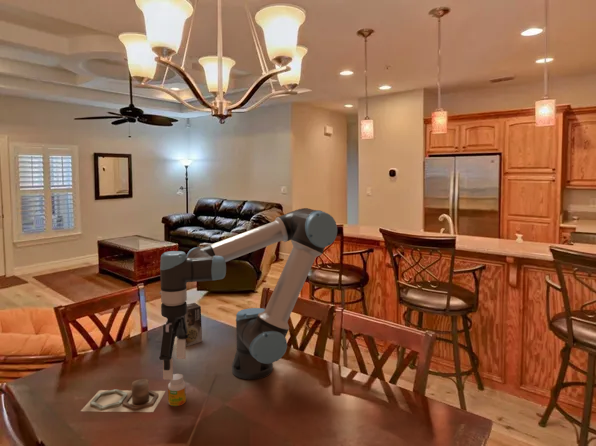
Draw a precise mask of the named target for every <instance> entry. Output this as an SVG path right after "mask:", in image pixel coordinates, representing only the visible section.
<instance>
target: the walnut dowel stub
mask: <svg viewBox="0 0 596 446" xmlns="http://www.w3.org/2000/svg"><path fill="white" fill-rule="evenodd" d="M149 381H150V380H149V379H147V378H139V379H136V380H134V381H132V382H131V391H132V403H133V404H134V405H142V404H145V403H147V402H148V401H149V390H150V383H149Z"/></svg>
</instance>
